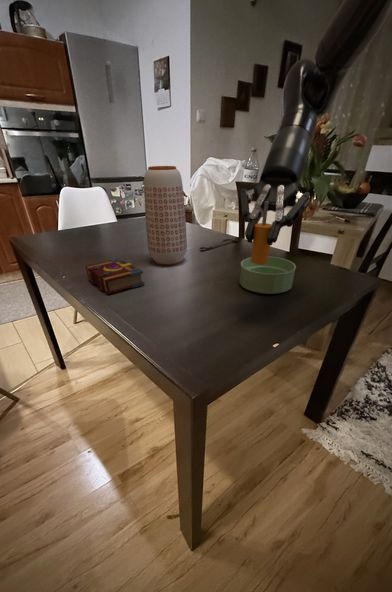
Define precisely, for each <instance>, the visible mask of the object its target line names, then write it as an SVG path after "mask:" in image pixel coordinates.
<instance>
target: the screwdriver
mask: <svg viewBox="0 0 392 592" xmlns="http://www.w3.org/2000/svg"><path fill="white" fill-rule="evenodd" d="M268 203H269V202H268V201H265V203H264V211H263V217H262V221H261V222H258V224H255V227H254V236H253V241H252V246H251V256H250V257H251V262H252V263H254V264H266V263H268V257H269V256H270V249H271V245H268V243H267V238H268V235H269V232H270V229H271V226H272V223H267V217H268V212H269V211H268Z"/></svg>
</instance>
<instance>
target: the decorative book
mask: <svg viewBox="0 0 392 592" xmlns="http://www.w3.org/2000/svg"><path fill="white" fill-rule="evenodd" d="M85 270H86V275H87V278H88V280H89V281H90V282H91V284H92V285H96V286H98V288H99V289H100V291H101V292H103V293H106V294H108V295H111V294H114V293H118V292H121V291H125V290H128V289H131V288H133V289H134V288H138V287H141V286H144V285H145V281H142V274H144V271H143V270H142V269H141V268H138V267H135V266H133V264H132V263H130V262H126V261H125V260H124V259H122V258H120V257H117V258H112V259H108V260H107V261H102V262H98V263H94V264H89V265H85Z"/></svg>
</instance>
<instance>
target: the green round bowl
mask: <svg viewBox="0 0 392 592" xmlns="http://www.w3.org/2000/svg"><path fill="white" fill-rule="evenodd" d="M296 270H297V265H296V264H295V263H294V262H293V261H292V260H289V259H286V258H283V257H278V256H271V255H269V257H268V263H266V264H254V263H252V262H251V256H250V257H247V258H245V259H243V260H242V261H240V268H239V279H238V282H239V285H240V286H241V287H242V288H244V289H245V290H247V291H250V292H253V293H259V294H267V295H274V294H282V293H285V292H288V291H289V290H291V289H292V288H293V285H294V280H295V275H296Z"/></svg>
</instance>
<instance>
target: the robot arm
mask: <svg viewBox="0 0 392 592" xmlns="http://www.w3.org/2000/svg"><path fill="white" fill-rule="evenodd" d="M391 10H392V0H343V1H342V3H341V4H340V5H339V7H338V9H337V11H336V12H335V14H334V16H333V17H332V19H331V20H330V22H329V24H328V25H327V27H326V29H325V31H324V32H323V34H322V35H321V38H320V39H319V41H318V43H317V45H316V48H315V51H314V61H313V60H312V59H310V58H301V59H299V60H297V61H296V62H295V63H294V64H293V65H292V66H291V67H290V68H289V71H288V73H287V75H286V77H285V80H284V84H283V88H282V97H281V115H280V116H281V119H280V123H279V125H278V128H277V131H276V135H275V137H274V139H273V141H272V143H271V145H270V149H269V150H268V154H267V156H266V160H265V163H264V165H263V168H262V171H261V174H260V177H259V181H258V182H257V184H255V186H254V188H252V189H250V190H247V188H245V187H244V188H241V189H240V192H239V195H240V207H241V215H242V218H243V222H244V223H247V225H246V227H245V231H244V237H245V240H246V242H247V243H249V244H250V243H251V244H253V236H254V227H255V224H258V223H260V220H261V219H262V218H263V211H264V203H265V201H268V202H269V203H268V211H267V212H275V216H274V221H272V222H271V224H272V226H271V229H270V232H269V235H268V238H267V243H268V245H270V246H273V244H276V243H277V241H278V239H279V238H278V237H279V235H280V233H281V229H282V228H283V227H288V228H290V227H292V226H293V225H294V224H295V223H296V222H297V221H298V220H299V218H300V217H301V215H302V214H303V213H304V212H305V210H306V209H307V208H308V207H309V205H310V200H311V199H310V198H311V193H310V192H309V191H305V192H304V193H303V192H302V191H301V192H300V190H299V185H300V183H301V180H302V177H303V174H304V170H305V167H306V165H307V163H308V158H309V155H310V149H311V144H312V142H313V139H314V136H315V132H316V129H317V126H318V119H319V118H321V117H323V116H324V115H325V114H326V113H327V112H329V110H330V109H331V107H332V105H333V103H334V101H335V99H336V96H337V94H338V92H339V89H340V87H341V85H342V83H343V81H344V80H345V78H346V76H347V74H348V72H349V71H350V69H351V68H352V67H353V65H354V64H355V63H356V62H357V60H358V59H359V58H360V57H361V55H362V54H363V53H364V51H366V49H367V47H368V46H370V44H371V43H372V41H373V40H374V38H375V37H376V36H377V34H378V33H379V31H380V30H381V28H382V26H383V25H384V23H385V22H386V20H387V18H388V16H389V15H390V12H391ZM254 197H255V199H256V201H255V203H254V207H253V209H252V211H250V204H252V201H253V198H254ZM294 201H295V203H294V204H293V205H292V207H291V208H290V209H289V211H288V212H287V213H286V214H285V209H286V208H287V207H288V206H289V205H290V204H292V203H293V202H294Z"/></svg>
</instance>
